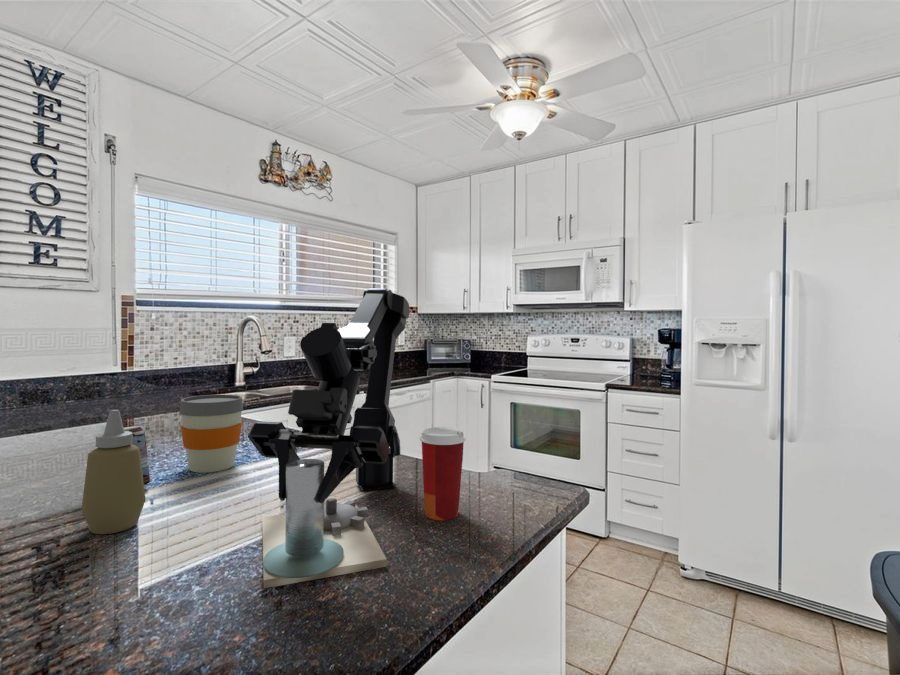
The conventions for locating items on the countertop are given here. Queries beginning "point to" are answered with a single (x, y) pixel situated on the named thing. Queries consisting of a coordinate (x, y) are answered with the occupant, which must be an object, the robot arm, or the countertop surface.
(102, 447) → the squeeze bottle
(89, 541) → the countertop surface
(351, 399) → the robot arm
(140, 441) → the beverage can
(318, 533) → the axle
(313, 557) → the board
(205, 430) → the reusable coffee cup
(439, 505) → the paper cup
